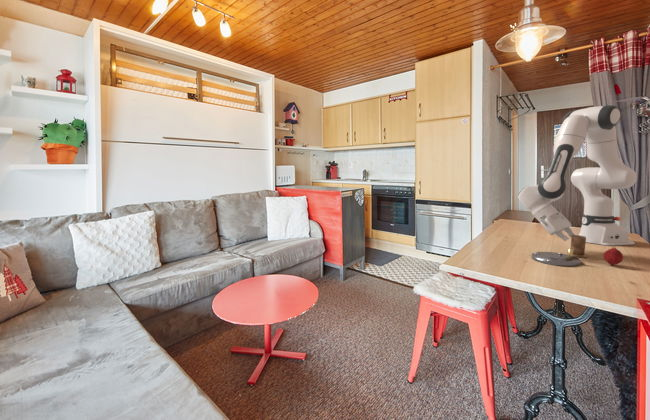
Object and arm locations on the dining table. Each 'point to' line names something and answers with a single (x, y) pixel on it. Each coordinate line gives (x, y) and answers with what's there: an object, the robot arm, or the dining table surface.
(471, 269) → the dining table surface
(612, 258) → the onion
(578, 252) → the bushing
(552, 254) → the flange plate
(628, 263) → the dining table surface
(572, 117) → the robot arm
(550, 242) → the dining table surface
